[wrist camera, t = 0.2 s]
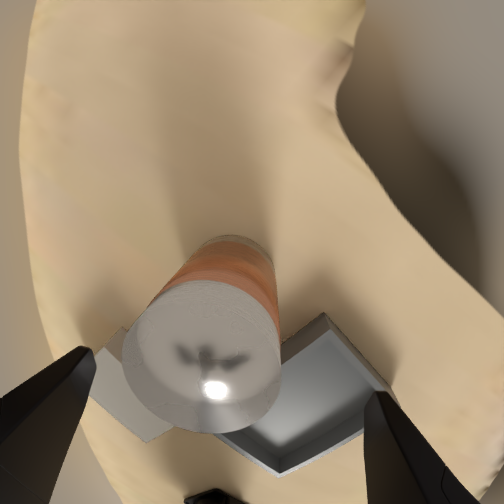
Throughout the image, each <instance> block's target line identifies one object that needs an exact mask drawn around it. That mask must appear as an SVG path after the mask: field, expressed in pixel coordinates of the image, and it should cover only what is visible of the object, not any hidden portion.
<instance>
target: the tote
mask: <svg viewBox="0 0 504 504" xmlns="http://www.w3.org/2000/svg"><path fill="white" fill-rule="evenodd" d="M280 358H281V387H280V392H279V394H278V397H277V399H276V401H275V403H274V404H273V406H272V407H271V409H270V410H269V411H268V412H267V413H266V414H265V415H264V416H263V417H262V418H261V419H259V420H258V421H256V422H255V423H253V424H251V425H249V426H247V427H245V428H242V429H239V430H236V431H232V432H226V433H213V435H215V436H216V437H218V438H219V439H220V440H222V441H223V442H224V443H226V444H227V445H229V446H230V447H231V448H233V449H234V450H236V451H237V452H239V453H240V454H242V455H243V456H245V457H246V458H248V459H249V460H251V461H252V462H254V463H255V464H257V465H258V466H260V467H261V468H263V469H264V470H266V471H268V472H269V473H271V474H272V475H274V476H276V477H277V478H281V477H283V476H285V475H287V474H289V473H291V472H293V471H296V470H298V469H300V468H302V467H304V466H306V465H308V464H309V463H311V462H313V461H315V460H317V459H319V458H321V457H323V456H325V455H326V454H328V453H330V452H332V451H334V450H335V449H337V448H339V447H341V446H342V445H344V444H346V443H347V442H349V441H351V440H352V439H354V438H356V437H357V436H359V435H361V434H362V433H364V407H365V405H366V403H367V401H368V400H369V398H370V397H371V395H372V393H373V392H374V391H376V390H381V391H387V392H388V393H389V394H390V395H391V397H392V398H393V399H394V400H395V401H396V403H397V404H398V405H399V406H400V404H399V402H398V400H397V398H396V396H395V394H394V393H393V391H392V389H391V387H390V386H389V385H388V384H387V383H386V382H385V381H384V379H383V378H382V377H381V376H380V375H379V374H378V373H377V371H376V370H375V369H374V368H373V367H372V366H371V365H370V363H369V362H368V361H367V360H366V359H365V358H364V357H363V356H362V354H361V353H360V352H359V351H358V350H357V349H356V348H355V347H354V345H353V344H352V343H351V342H350V341H349V340H348V339H347V338H346V336H345V335H344V334H343V333H342V332H341V331H340V330H339V329H338V327H337V326H336V325H335V324H334V323H333V322H332V321H331V320H330V318H329V317H328V316H327V315H326V314H325V313H324V312H323V313H322V314H321V315H319V316H318V317H317V318H315V319H314V320H313V321H312V322H310V323H309V324H308V325H307V326H305V327H304V328H303V329H301V330H300V331H299V332H297V333H296V334H295V335H293V336H292V337H291V338H290V339H288V340H287V341H286V342H284V343H283V344H282V345H281V352H280ZM400 408H401V406H400Z"/></svg>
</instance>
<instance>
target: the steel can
mask: <svg viewBox="0 0 504 504" xmlns="http://www.w3.org/2000/svg"><path fill="white" fill-rule="evenodd" d="M280 352H281V340H280V326H279V312H278V298H277V285H276V279H275V271H274V267H273V263H272V261H271V259H270V257H269V256H268V254H267V253H266V251H265V250H264V249H263V248H262V247H261V246H260V245H258V244H257V243H256V242H254V241H252V240H250V239H248V238H245V237H242V236H236V235H225V236H220V237H216V238H214V239H212V240H210V241H208V242H207V243H205V244H204V245H203V246H202V247H201V248H200V249H199V250H198V251H197V252H196V253H194V254H193V255H192V256H191V258H190V259H189V260H188V261H187V262H186V263H185V264H184V265H183V266H182V267H181V269H180V270H179V271H178V272H177V273H176V274H175V275H174V276H173V277H172V279H171V280H170V281H169V282H168V283H167V284H166V285H165V286H164V288H163V289H162V290H161V291H160V292H159V293H158V294H157V295H156V297H155V298H154V299H153V300H152V301H151V302H150V304H149V305H148V307H147V309H146V310H145V311H144V312H143V313H142V314H141V316H140V317H139V318H138V319H137V320H136V321H135V323H134V324H133V325H132V326H131V328H130V329H129V331H128V332H127V334H126V337H125V339H124V342H123V347H122V356H121V359H122V367H123V371H124V375H125V378H126V380H127V383H128V385H129V386H130V388H131V390H132V392H133V393H134V394H135V396H136V397H137V398H138V400H139V401H140V402H141V403H142V404H143V405H144V406H145V407H146V408H147V409H148V410H149V411H151V412H152V413H153V414H155V415H156V416H157V417H159V418H161V419H162V420H164V421H166V422H168V423H170V424H172V425H174V426H177V427H179V428H182V429H185V430H189V431H193V432H199V433H210V434H213V433H226V432H232V431H236V430H239V429H242V428H245V427H247V426H249V425H251V424H253V423H255V422H256V421H258V420H259V419H261V418H262V417H263V416H264V415H265V414H266V413H267V412H268V411H269V410H270V409H271V407H272V406H273V404H274V403H275V401H276V399H277V397H278V394H279V392H280V387H281V358H280Z"/></svg>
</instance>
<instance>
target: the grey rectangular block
mask: <svg viewBox="0 0 504 504" xmlns="http://www.w3.org/2000/svg"><path fill="white" fill-rule="evenodd" d="M126 334H127V331H126V330H125V329H124V328H123V327H121V328H120V329H119V330H118V331H117V332H116V333H115V334H114V335H113V336H112V337H111V338H110V339H109V340H108V342H107V343H106V344H105V345H104V346H103V347H102V348H101V349H100V350H99V351H98V352H97V353H96V354H95V355H94V358H95V362H96V365H97V369H96V373H95V376H94V380H93V383H92V386H91V389H90V393H89V396H90V397H91V398H93V399H94V400H95V401H96V402H97V403H98V404H99V405H100V406H101V407H102V408H104V409H105V410H106V411H107V412H108V413H109V414H111V415H112V416H113V417H114V418H115V419H116V420H118V421H119V422H120V423H121V424H122V425H124V426H125V427H126V428H127V429H129V430H130V431H131V432H132V433H134V434H135V435H136V436H137V437H139V438H140V439H141V440H143V441H144V442H145V443H147V442H149V441H151V440H153V439H154V438H156V437H158V436H160V435H161V434H163V433H165V432H166V431H168V430H170V429H171V428H173V427H175V426H174V425H172V424H170V423H168V422H166V421H164V420H162V419H161V418H159V417H157V416H156V415H155V414H153V413H152V412H151V411H149V410H148V409H147V408H146V407H145V406H144V405H143V404H142V403H141V402H140V401H139V400H138V398H137V397H136V396H135V394H134V393H133V392H132V390H131V388H130V386H129V385H128V383H127V380H126V378H125V375H124V371H123V367H122V359H121V356H122V347H123V342H124V339H125V337H126Z"/></svg>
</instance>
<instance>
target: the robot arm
mask: <svg viewBox="0 0 504 504" xmlns="http://www.w3.org/2000/svg"><path fill="white" fill-rule="evenodd" d="M96 369H97V365H96V362H95V358H94V355H93V352H92V350H91V348H88V347H85V346H78V347H76V348H75V349H73V350H72V351H70V352H69V353H67V354H66V355H64V356H63V357H61V358H60V359H58V360H57V361H55V362H54V363H52V364H51V365H49V366H47V367H46V368H44V369H43V370H41V371H40V372H38V373H37V374H36V375H34V376H32V377H31V378H29V379H28V380H27V381H25V382H23V383H22V384H21V385H19V386H18V387H16V388H15V389H13V390H12V391H10V392H9V393H7V394H6V395H4V396H3V397H2V398H0V504H49V502H50V499H51V496H52V492H53V490H54V487H55V484H56V481H57V478H58V475H59V473H60V470H61V467H62V464H63V462H64V459H65V457H66V454H67V451H68V449H69V446H70V444H71V441H72V438H73V436H74V433H75V431H76V428H77V426H78V424H79V421H80V419H81V417H82V414H83V412H84V409H85V406H86V403H87V399H88V396H89V393H90V389H91V386H92V383H93V380H94V376H95V373H96ZM364 461H365V472H366V485H367V499H368V504H480V503H479V501H478V500H477V499H476V498H475V497H474V496H473V495H472V494H471V493H470V492H469V491H468V490H467V489H466V488H465V487H464V486H463V485H462V484H461V483H460V482H459V480H458V479H457V478H456V477H455V476H454V474H453V473H452V472H451V471H450V469H449V468H448V467H447V466H445V463H444V462H443V461H442V459H441V458H440V457H439V455H438V454H437V453H436V452H435V450H434V449H433V448H432V447H431V445H430V444H429V443H428V442H427V440H426V439H425V438H424V436H423V435H422V434H421V433H420V431H419V430H418V429H417V428H416V426H415V425H414V424H413V423H412V421H411V420H410V419H409V418H408V416H407V415H406V414H405V413H404V411H403V410H402V409H401V408H400V406H399V405H398V404H397V403H396V401H395V400H394V399H393V398H392V397H391V395H390V394H389V393H388V392H387V391H381V390H376V391H374V392H373V393H372V395H371V397H370V398H369V400H368V401H367V403H366V405H365V407H364ZM184 503H185V504H244V503H242V502H240V501H239V500H237V499H235V498H233V497H231V496H229V495H228V494H226V493H224V492H222V491H221V490H219V489H212V490H209V491H207V492H204V493H201V494H198V495H196V496H193V497H190V498H187V499H184Z"/></svg>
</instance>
